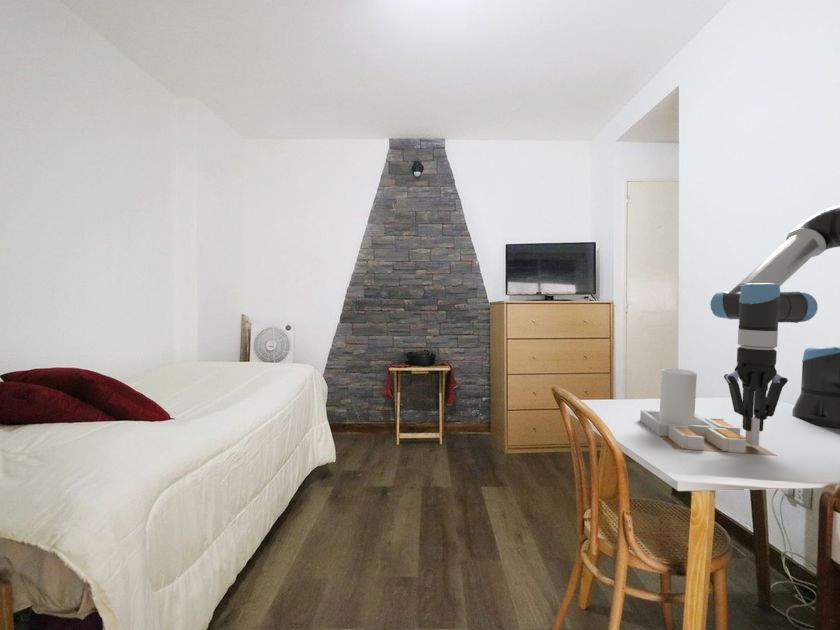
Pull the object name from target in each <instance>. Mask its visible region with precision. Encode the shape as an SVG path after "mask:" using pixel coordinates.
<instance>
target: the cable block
mask: <svg viewBox="0 0 840 630" xmlns="http://www.w3.org/2000/svg"><path fill="white" fill-rule="evenodd" d="M716 431H717V432H718V433H720V434H722V435H723V436H725V437H727V438H738V439H743V438H742V437H740V436H738V435H737V434H735V433H733V432H731V431H730V430H716Z"/></svg>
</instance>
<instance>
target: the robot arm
mask: <svg viewBox="0 0 840 630" xmlns="http://www.w3.org/2000/svg"><path fill="white" fill-rule="evenodd" d="M832 248H833V249H834V248H840V205H835V206H832V207H829V208H826V209H824V210H821V211H819V212H818V213H816V214H814V215H812V216H810V217H809V218H807V219H806V220H804V221H803V222H802V223H800V224H797V226H796V227H795V228H793V229H792V230H791V231H790V232H789V233H788V234H787V236H786V239H785V241H784V242H783V243H782V244H781V245H780V246H779V247H778V248H776V250H774V251H773V252H772V254H770V255H769V256H768V257H767V258H766V259H765V260H764V261H763V262H761V263H760V264H759V265H758V266H757V267H755V269H754V270H752V272H750V273H749V274H747V276H746V277H745V278H743V280H741V281H740V282H739V283H738V284H737V285H736V286H734V288H732V289H731V290H730V291H727V290H724V291H720V292H717V293H715V294H713V296H712V298H711V299H710V304H709V305H710V311H711V312H712V314H713V315H714V316H715V317H717V318H721V319H728V320H738V331H737V332H738V333H737V345H739V347H738V348H736V351H737V352H736V366H735V368H734V371H733V372H732V373H729V374H727V373H726V374H724V376H723V378H724V380H725V381H726V383H727V385H728V389H729V393H730V398H731V403H732V407H733V411H734V412H735V413H736V414H738V415H740V416H742V425H741V426H742V429H743V430H745V440H746V442H747V443H748V444H750V445H752V446H760V432H763V431H764V420H767V419H768V417H770V418H771V417H774V415H775V412H776V409H777V405H778V403H779V399H780V396H781V394H782V390H783V387H785V385H786V384H787V383H788V381H789V380H788V378H787V377H783V376H781V375H780V374H778V372H777V371H778V370H777V369H776V365H777V355H778V352H777V350H776V349H775V348H777V347H778V334H779V333H778V332H779V329H778V328H779V323H794V324H798V323H803V322H807V321H809V320H811V319H813V318H814V316H815V315H816V314H817V312H818V308H819V307H818V302H817V300H816V298H815V297H814V296H813V295H811V294H809V293H806V292H801V291H781V286H782V285H783V284H784V283H786V282H787V281H788V280H789V279H790V278H791V277H792V276H793V275H794V274H795V273H797V271H798V270H799V269H800V268H801V267H803V266H804V265H805V264H806V263H807V262H808V261H809V260H810V259H812V258H815V257H818V256H820V255H821V254H823V253H824V252H825V251H826V250H830V249H832ZM801 362H802V364H801V365H802V367H801V388H800V390H801V391H800V394H799V396H798V398H797V400H796V402H795V404H794V407H793V408H792V414H791V417H794V418H796V419H798V420H802V422H803V421H804V422H805V423H809V424H812V425H813V424H814V425H818V426H822V427H829V428H837V429H840V346H817V347H816V346H811V347H807V348H806V349H804V351H803V355H802V360H801ZM739 380H740V382H742V383H741V387H742V393H741V388H740V385H739ZM769 384H770V385H769Z"/></svg>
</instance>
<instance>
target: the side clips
mask: <svg viewBox="0 0 840 630" xmlns="http://www.w3.org/2000/svg"><path fill="white" fill-rule="evenodd" d="M704 420H706V421H707V422H709V423H711V424H713V425H714V426H716V427H718V428H725V429H727V430H730V431H731V432H733V433H735V434H737V435H738V436H740V435H741V428H740V427H739V426H734V425H732V424H729V423H728V422H726V421H725V420H724V418H720V417H704ZM669 438H670V439H671V440H673V441H674V442H675V443H676V444H678V445H679V446H680V447H681V448H687V449H694V450H693V451H696V450H704V437H702V436H698V435H696V434H695V433H693V432H692V431H690V430H689V427H687V426H673V425H672V426H669Z"/></svg>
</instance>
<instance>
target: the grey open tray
mask: <svg viewBox="0 0 840 630" xmlns="http://www.w3.org/2000/svg"><path fill="white" fill-rule="evenodd" d="M716 430H727V429H725V428H707V438H706V440H708V441H709V442H711V443H712V444H714V445H715V446H717V447H718V448H720V449H721V450H723V451H729V452H740V453H739V454H741V453H745V449H746V440H745V439H738V438H727V437H725V436H723V435H722V434H720V433H718V432H717V431H716Z"/></svg>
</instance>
